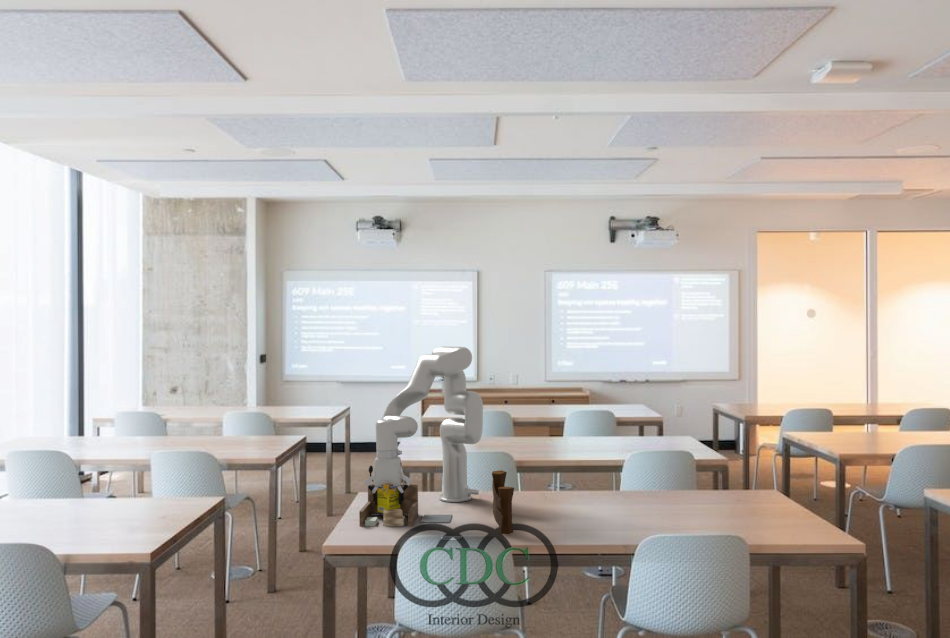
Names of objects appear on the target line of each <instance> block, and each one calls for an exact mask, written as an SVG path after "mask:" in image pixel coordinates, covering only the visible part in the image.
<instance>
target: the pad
mask: <svg viewBox="0 0 950 638" xmlns="http://www.w3.org/2000/svg"><path fill="white" fill-rule="evenodd" d="M452 518H453V514H424V515H423V516H422V519H421V521H420V524H450V523H451V521H452Z"/></svg>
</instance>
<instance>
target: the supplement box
mask: <svg viewBox="0 0 950 638" xmlns="http://www.w3.org/2000/svg"><path fill="white" fill-rule="evenodd" d="M399 492H400V491H399V489H398V488H397V487H394V486H393V484H382V485H381V487H378V489H377V508H378V514H381V515H380V516H383V510H392V509H400V504H399Z"/></svg>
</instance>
